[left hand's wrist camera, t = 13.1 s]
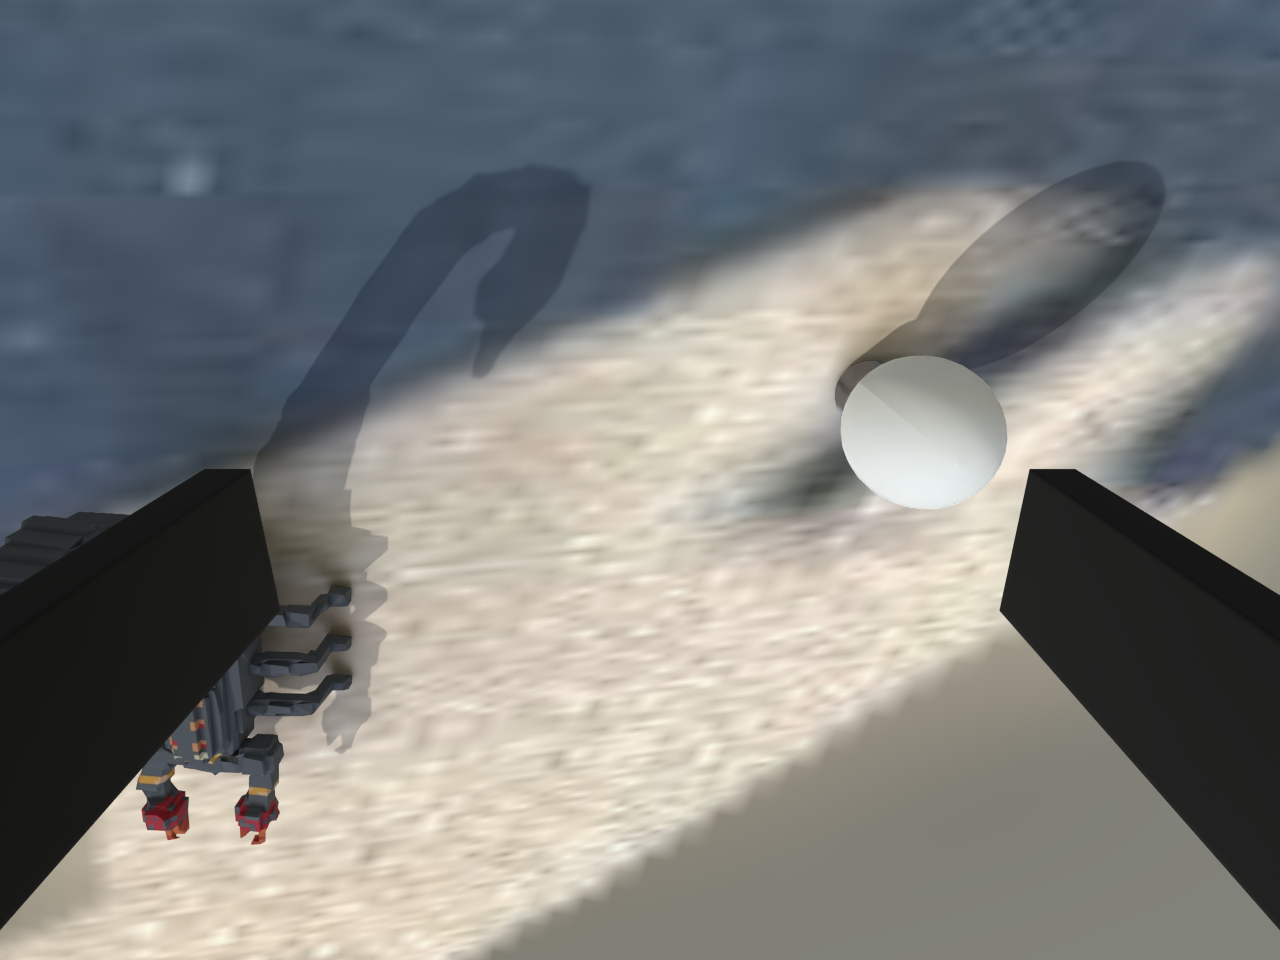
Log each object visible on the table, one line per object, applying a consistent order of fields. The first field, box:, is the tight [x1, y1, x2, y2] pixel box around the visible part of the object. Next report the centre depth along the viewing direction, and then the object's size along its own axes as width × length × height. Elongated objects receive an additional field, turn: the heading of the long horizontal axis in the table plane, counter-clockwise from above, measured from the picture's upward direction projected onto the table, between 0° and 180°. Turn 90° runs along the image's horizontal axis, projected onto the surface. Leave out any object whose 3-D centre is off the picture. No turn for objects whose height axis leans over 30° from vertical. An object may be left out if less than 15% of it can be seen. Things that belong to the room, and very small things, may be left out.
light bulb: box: [835, 355, 1007, 509], centre depth 34 cm, size 7×7×11 cm
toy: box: [0, 512, 352, 845], centre depth 36 cm, size 13×27×18 cm, turn 172°
